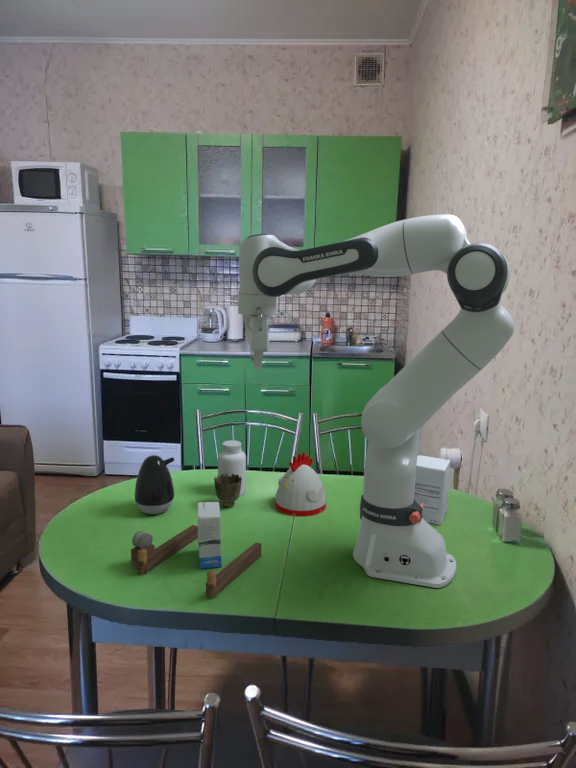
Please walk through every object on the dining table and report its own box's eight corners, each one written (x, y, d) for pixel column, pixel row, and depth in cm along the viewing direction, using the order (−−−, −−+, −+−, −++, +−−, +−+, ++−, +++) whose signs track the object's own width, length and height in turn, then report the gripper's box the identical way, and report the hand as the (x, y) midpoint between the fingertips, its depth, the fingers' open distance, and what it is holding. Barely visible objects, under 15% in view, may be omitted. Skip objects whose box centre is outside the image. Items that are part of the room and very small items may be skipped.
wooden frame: (261, 556, 124) (262, 526, 122) (212, 599, 107) (212, 565, 106) (182, 533, 134) (182, 505, 132) (126, 569, 117) (125, 538, 116)
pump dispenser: (176, 516, 143) (175, 460, 139) (134, 520, 140) (132, 463, 137) (174, 501, 152) (173, 448, 149) (135, 504, 150) (133, 450, 147)
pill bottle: (230, 500, 153) (230, 449, 150) (212, 492, 158) (211, 442, 155) (251, 492, 159) (251, 442, 156) (232, 485, 164) (232, 436, 161)
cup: (244, 500, 153) (244, 473, 151) (239, 512, 146) (239, 483, 144) (217, 499, 154) (217, 472, 152) (211, 510, 147) (211, 482, 145)
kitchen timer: (264, 504, 151) (265, 452, 148) (301, 491, 161) (302, 442, 158) (299, 521, 141) (300, 466, 138) (336, 507, 150) (338, 454, 147)
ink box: (221, 567, 118) (221, 516, 116) (198, 569, 118) (197, 518, 115) (219, 548, 127) (219, 500, 124) (198, 549, 126) (197, 501, 124)
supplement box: (414, 505, 152) (417, 454, 149) (447, 512, 148) (451, 459, 145) (406, 518, 144) (409, 464, 141) (440, 525, 140) (445, 470, 137)
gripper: (275, 310, 118) (274, 373, 121) (266, 303, 138) (265, 358, 141) (246, 309, 117) (245, 373, 120) (241, 303, 137) (240, 358, 140)
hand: (256, 365), depth 131 cm, fingers open, 8 cm apart
